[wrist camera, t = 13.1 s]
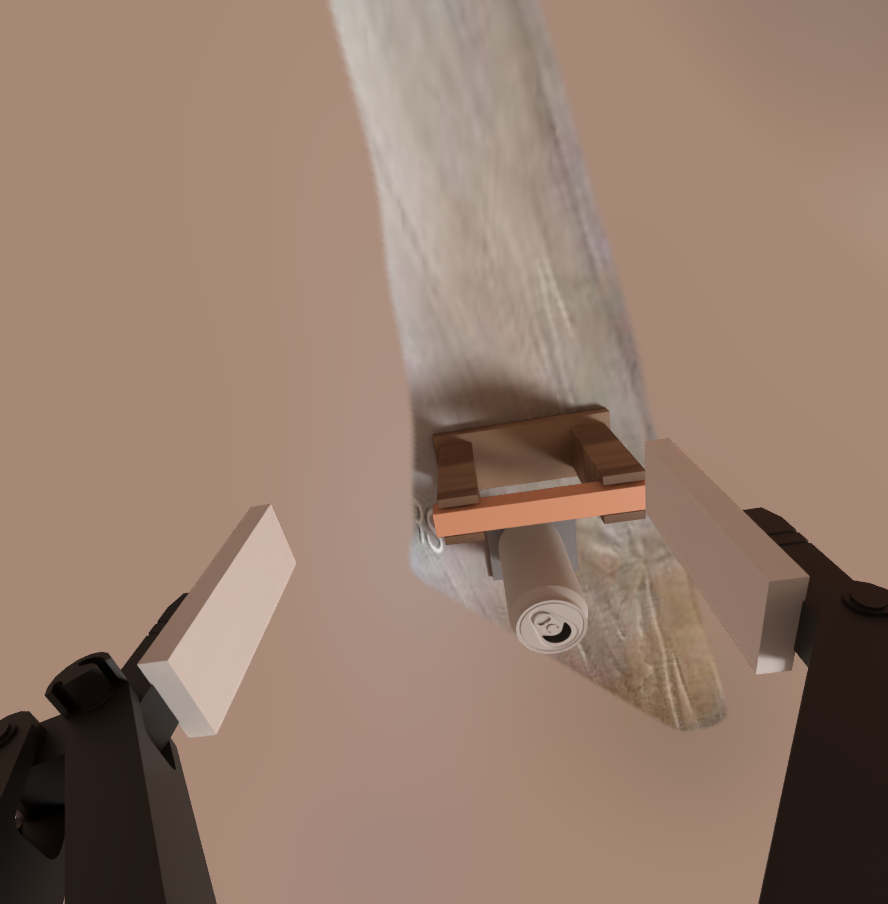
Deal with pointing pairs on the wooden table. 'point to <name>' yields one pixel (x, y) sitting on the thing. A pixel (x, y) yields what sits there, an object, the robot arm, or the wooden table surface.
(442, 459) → the walnut stand
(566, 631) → the beverage can
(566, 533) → the rubber mat
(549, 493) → the crossbar
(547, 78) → the wooden table surface
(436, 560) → the wooden table surface
